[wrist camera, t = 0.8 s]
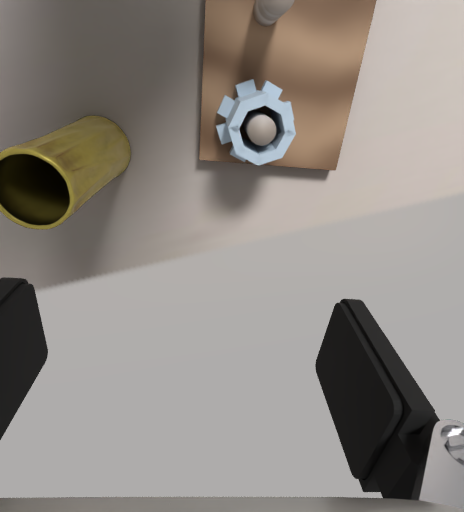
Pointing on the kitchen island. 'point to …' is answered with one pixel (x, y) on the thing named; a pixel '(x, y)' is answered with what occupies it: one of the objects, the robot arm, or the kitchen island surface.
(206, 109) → the board
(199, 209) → the kitchen island surface
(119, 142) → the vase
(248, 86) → the gear
